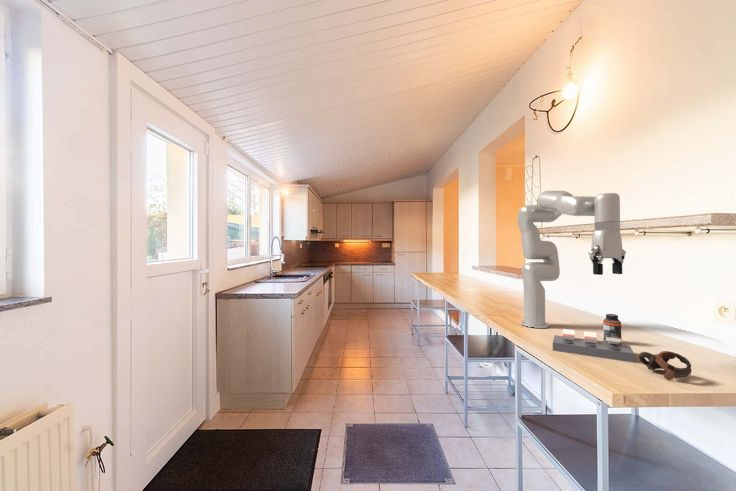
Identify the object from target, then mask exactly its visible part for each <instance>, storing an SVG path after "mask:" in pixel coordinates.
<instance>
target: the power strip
mask: <svg viewBox="0 0 736 491" xmlns="http://www.w3.org/2000/svg"><path fill="white" fill-rule="evenodd" d="M552 351H555V352H562V353H569V354H576V355H582V356H589V357H595V358H601V359H602V358H603V359H609V360H614V361H615V360H616V361H622V362H623V361H624V362H629V363H635V353H634V351H633V348H632V347H631V345H630V344H627V343H619V345H618V344H610V343H608V342H605V341H604V340H603V341H602V340H597V343H592V342H584V338H581V337H575V340H569V339H562V335H556V334H554V335H553V340H552Z"/></svg>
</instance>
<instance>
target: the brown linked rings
mask: <svg viewBox="0 0 736 491" xmlns="http://www.w3.org/2000/svg"><path fill="white" fill-rule="evenodd" d="M637 357H638V360H639V362H641V364H643V365H644V366H646V368H647V369H648V370H650V371H654V370H658V369H659V370H660V369H661V370H664V371H665V373H664V374H663V378H664V379H666V380H668V381H672V380H673V379H682V378H687V377H689V375H691V374H692V371H693V370H692V364H691V362H690V360H688V359H687V358H686V357H685V356H683V355H681V354H679V353H676V352H674V351H667V350H663V351H660V352H659V353H656V354H652V353H650V352H647V351H642V352H640V353H639V354H638V356H637ZM675 358H676V359H678V360H679V361H680V362H681V363H683V364H685V365H686V366H685V367H683V368H682V367H675V366H674V365H672V364H670V363H669V361H670V360H674V359H675Z"/></svg>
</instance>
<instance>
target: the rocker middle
mask: <svg viewBox="0 0 736 491" xmlns="http://www.w3.org/2000/svg"><path fill="white" fill-rule="evenodd" d="M597 337H598V336H597V332H593V331H583V339H584V342H592V343H597V341H598V338H597Z"/></svg>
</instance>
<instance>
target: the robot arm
mask: <svg viewBox="0 0 736 491" xmlns="http://www.w3.org/2000/svg"><path fill="white" fill-rule="evenodd" d="M536 203H537V204H532V205H531V204H530V205H525V206H522V207H521V208H520V209H519V210H518V213H517V218H516V219H517V220H516V222H517V225H518V228H519V231H520V235H521V236H520V237H521V245H522V248H521V249H522V253H523V256H524V258H525V259H527V260H532V261H531V262H530V261H529V262H526V263H523V265H522V267H521V269H520V270H521V277H522V282H523V320H522V321H520V325H521V326H523V325H524V326H523V327H526V326H528V327H527V328H531V327H534V328H533V329H548V328H549V327H550V324H549V323H548V322H546V290H545V287H544V286H543V284H542V282H554V281H557V280H558V279H559V277H560V274H561V272H560V270H561V269H560V261H559V260H560V259H559V252H558V248H557V246H556V244H555V243H554V242H552V241H550V240H541V233H540V230H539V229H538V227H537V225H535V224H534V223H552V222H554V221H556V220H558V219H559V218H560V217H561V215H567V216H575V217H594V230H593V232H592V239H591V245H590V246H591V247H590V250H589V251H588V255H589V259H590V260H591V264H592V273H593V275H596V276H597V275H598V276H603V275H604V264H603V263H602V262H603V261H604V259H611V260H612V266H611V267H612V268H611V269H612V270H611V271H612V274H613V275H615V274H616V275H622V274H623V263H624V260H625V259H626V258H625V256H626V253H627V251H626V250H625V249H624V248H623V242H622V234H621V199H620V195H619V194H618V193H616V192H607V193H600V194H597V195H596V196H586V195H585V196H583V195H582V196H581V195H579V196H577V195H576V196H574V195H573V194H572V193H570V192H569V191H565V190H544V191H542V192H541V193H539V194H538V196H537V200H536ZM533 260H536V261H533ZM537 260H538V261H537ZM540 260H541V261H540ZM542 260H543V261H542Z"/></svg>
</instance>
